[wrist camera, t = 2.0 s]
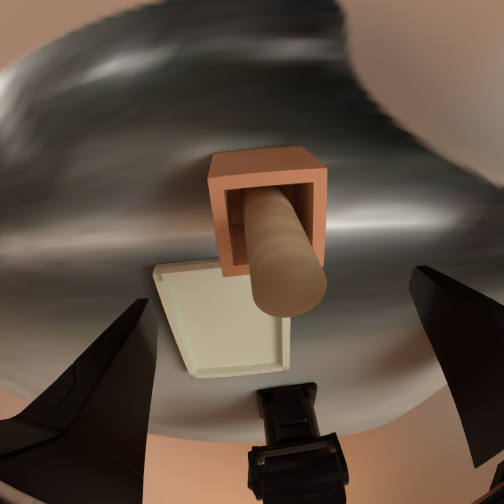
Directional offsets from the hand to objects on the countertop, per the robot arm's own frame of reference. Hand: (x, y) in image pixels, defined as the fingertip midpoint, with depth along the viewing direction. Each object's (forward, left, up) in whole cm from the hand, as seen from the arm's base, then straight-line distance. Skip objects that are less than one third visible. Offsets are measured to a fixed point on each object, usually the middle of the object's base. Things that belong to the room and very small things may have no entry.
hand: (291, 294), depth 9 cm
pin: (0, 0, -9) cm, 9 cm away
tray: (-10, +3, -10) cm, 14 cm away
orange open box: (0, 0, -10) cm, 10 cm away
